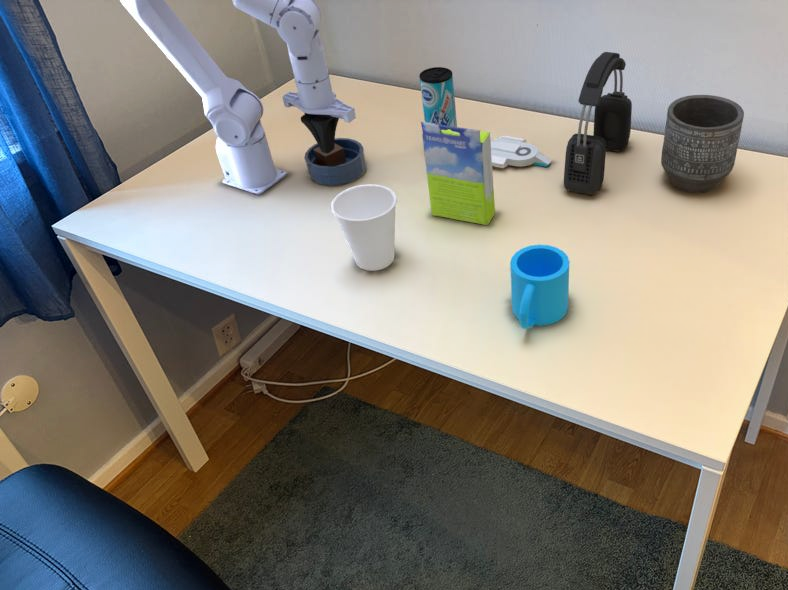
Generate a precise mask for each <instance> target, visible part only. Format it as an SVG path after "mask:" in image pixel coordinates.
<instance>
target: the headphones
mask: <svg viewBox="0 0 788 590" xmlns="http://www.w3.org/2000/svg"><path fill="white" fill-rule="evenodd" d="M626 64H627V63H626V61H625V60H624V58H623V57H621V55H620V53H618V52H611V51H604V52H602V53H601V54H600V55H599V56H598V57H596V59H595V60H594V61H593V62H592V64H591V65H590V68H589V69H588V71H587V74H586V76H585V79H584V81H583V84H582V87H581V90H580V94H579V97H578V101H577V102H578V103H579V104H580V105H581V106H582V108H581V112H580V117H579V123H578V130H577V133H574V134H573V135H571V137H570V138H569V139H568V140H567V144H566V148H565V157H564V170H563V171H564V172H563V186H564V189H565V190H567V191H570V192H574V193H579V194H584V195H590V196H591V195H595V194H597V193H598V192H599V191H600V190H601V189H602V187H603V183H604V179H605V169H606V168H605V167H606V165H605V164H606V155H607V154H606V152H607V151H611V152H612V151H613V152H622V151H624V150H626V148H627V147H628V144H629V140H630V137H631V131H632V130H631V129H632V113H633V112H632V111H633V104H632V100H631V99H630V98H628V95H626V94H625V92H624V91H623V85H624V84H623V83H624V81H623V80H624V79H623V78H624V76H623V71H625V69H626ZM617 71H619V91H618V73H617ZM612 73H613V76H614V79H613V80H614V88H613V92H612V93H611V92H608V93H607V94H604V95H603V91H604V88H605V86H606V85H607V82H608V80H609V78H610V77H611V75H612ZM587 106H588V110H587V114H586V118H585V124H584V131H583V133H582V126H583V120H584V116H585V112H586V108H587ZM593 107H594V114H593V115H594V116H593V135H592V134H588V128H589V123H590V117H591V112H592V109H593Z"/></svg>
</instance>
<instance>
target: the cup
mask: <svg viewBox="0 0 788 590" xmlns="http://www.w3.org/2000/svg"><path fill="white" fill-rule="evenodd" d="M397 197H398V196H397V194H396V193H395V192H394V190H393V189H391V188H390V187H388V186H385V185H381V184H373V183H369V184H368V183H367V184H359V185H354V186H352V187H348V188H347V189H344V190H342V191H341V192H339V193H338V194H337V195H336V196H335V197H334V198H333V199H332V201H331V204H330V209H331V212H332V214H333V215H334V216H335V218H336V220H337V222H338V225H339V227H340V230H341V231H342V233H343V236H344V238H345V240H346V243H347V245H348V247H349V249H350V251H351V254H352V257H353V258H354V261H355V263H356V265H357V266H358V267H359V268H360V269H363V270H364V271H368V272H369V271H370V272H377V271H381V270H384V269H386V268H388V267H389V266H390V265H392V263H393V262H394V261H395V252H396V251H395V248H396V247H395V245H396V244H395V241H396V206H397V203H398V198H397Z"/></svg>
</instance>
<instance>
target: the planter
mask: <svg viewBox="0 0 788 590" xmlns="http://www.w3.org/2000/svg"><path fill="white" fill-rule="evenodd" d="M744 116H745V111H744V109H743V108H742V106H741V105H740V104H738V103H737V102H736V101H734V100H732V99H729V98H726V97H722V96H718V95H710V94H693V95H685V96H681V97H679V98H677V99H675V100H674V101H672V102H671V103H670V104H669V105H668V107H667V111H666V120H665V127H664V128H665V129H664V135H663V142H662V149H661V157H660V159H661V160H660V163H661V166H662V169H663V171H664V174H665V175H666V177H667V179H668V181H670V183H671V185H672V186H673V187H674V188H676V189H678V190H679V191H683V192H687V193H693V194H700V193H707V192H710V191H713V190H714V189H716V188H717V186H720V184H721V183H722V182H723V181H724V180H725V179H726V178H727V177H728V176H729V175H730V174H731V172H732V171H733V169H734V166H735V164H736V163H735V162H736V157H737V152H738V146H739V143H740V139H741V132H742V128H743V126H742V125H743V122H744V118H745V117H744Z"/></svg>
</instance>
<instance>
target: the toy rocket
mask: <svg viewBox="0 0 788 590" xmlns="http://www.w3.org/2000/svg"><path fill="white" fill-rule="evenodd" d="M490 140H491V157H492V167H494V168H495V167H496V168H500V169H505V168H507V167H508V166H513V167H526V166H531V165H535V166H540V167H544V168H545V167H546V168H547V167H548V166H549V165H550V163H551V162H552V159H551V158H550V157H548V156H546V155H544V154H543V153H541V152H539V148H538V147H537V146H536V145H535V144H533V143H531V142H526V141H527V140H526V138H521V137H517V136H511V135H501V136H500V137H499V136H498V137H496V138H495V139H491V138H490Z"/></svg>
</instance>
